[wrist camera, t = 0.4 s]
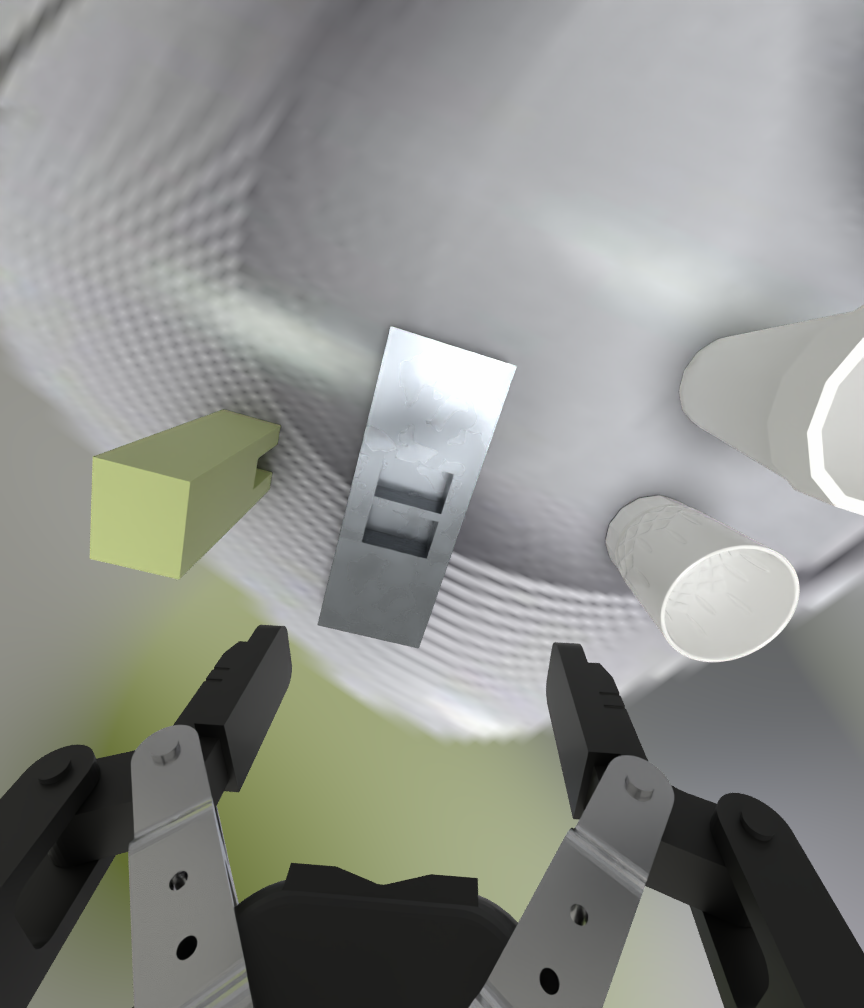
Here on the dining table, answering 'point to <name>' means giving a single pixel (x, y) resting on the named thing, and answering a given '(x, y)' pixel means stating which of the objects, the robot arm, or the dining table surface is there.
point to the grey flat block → (412, 485)
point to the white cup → (702, 579)
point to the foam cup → (789, 402)
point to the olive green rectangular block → (177, 491)
